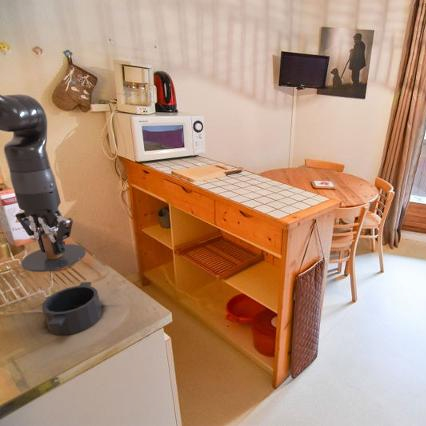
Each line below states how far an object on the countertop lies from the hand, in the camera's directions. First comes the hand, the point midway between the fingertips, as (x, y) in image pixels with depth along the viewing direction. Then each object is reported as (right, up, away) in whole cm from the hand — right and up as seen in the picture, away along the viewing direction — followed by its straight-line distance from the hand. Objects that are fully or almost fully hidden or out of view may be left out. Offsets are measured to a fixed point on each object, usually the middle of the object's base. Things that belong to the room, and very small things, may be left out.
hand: (53, 251), depth 79 cm
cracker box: (-42, -1, +42) cm, 60 cm away
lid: (0, -2, +1) cm, 2 cm away
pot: (+1, -19, +7) cm, 20 cm away
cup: (-21, -9, +27) cm, 35 cm away
